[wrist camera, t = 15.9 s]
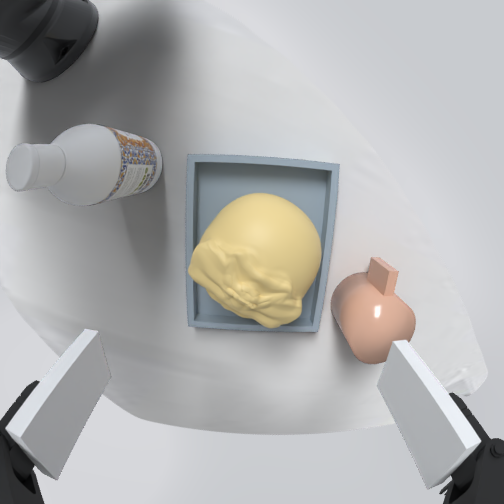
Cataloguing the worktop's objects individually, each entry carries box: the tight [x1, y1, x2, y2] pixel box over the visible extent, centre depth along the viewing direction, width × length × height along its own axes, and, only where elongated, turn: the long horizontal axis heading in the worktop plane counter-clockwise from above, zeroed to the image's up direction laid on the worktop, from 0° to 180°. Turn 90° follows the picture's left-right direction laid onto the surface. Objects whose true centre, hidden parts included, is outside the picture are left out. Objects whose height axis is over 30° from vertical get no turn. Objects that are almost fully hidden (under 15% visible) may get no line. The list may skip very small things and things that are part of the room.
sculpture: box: [188, 193, 322, 328], centre depth 27 cm, size 12×12×11 cm
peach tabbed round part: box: [331, 257, 416, 364], centre depth 31 cm, size 8×11×9 cm
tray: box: [186, 154, 340, 332], centre depth 32 cm, size 20×16×3 cm
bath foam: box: [6, 124, 162, 206], centre depth 21 cm, size 7×7×20 cm
